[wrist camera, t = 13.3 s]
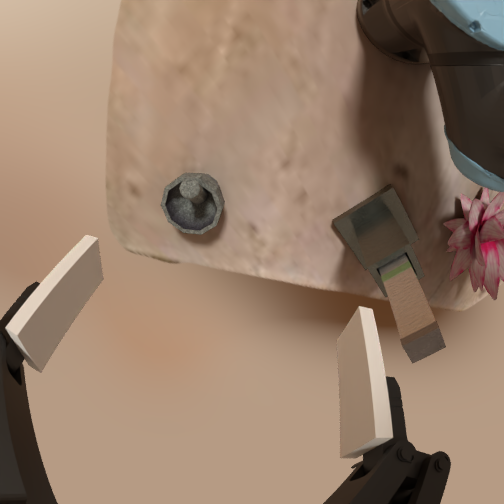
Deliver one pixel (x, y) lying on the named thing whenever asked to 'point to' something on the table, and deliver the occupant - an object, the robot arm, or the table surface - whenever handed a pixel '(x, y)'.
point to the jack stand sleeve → (379, 233)
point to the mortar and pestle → (193, 203)
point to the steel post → (411, 310)
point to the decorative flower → (479, 242)
